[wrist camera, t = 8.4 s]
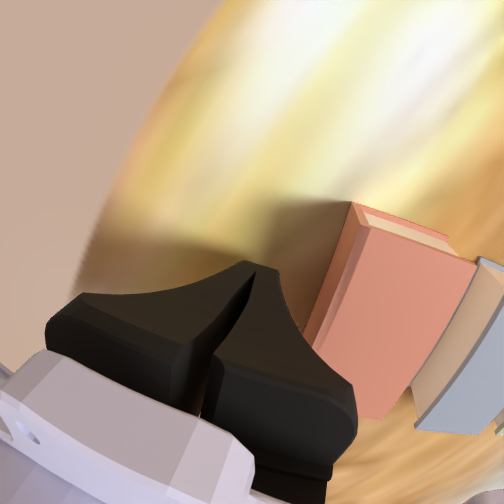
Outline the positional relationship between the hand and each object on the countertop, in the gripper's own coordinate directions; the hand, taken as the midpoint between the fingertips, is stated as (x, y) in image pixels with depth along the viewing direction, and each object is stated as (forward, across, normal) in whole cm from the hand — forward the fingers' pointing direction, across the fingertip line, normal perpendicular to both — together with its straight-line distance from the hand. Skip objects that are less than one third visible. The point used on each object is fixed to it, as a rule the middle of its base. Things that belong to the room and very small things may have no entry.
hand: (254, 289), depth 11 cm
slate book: (+1, -10, 0) cm, 10 cm away
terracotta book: (+1, -4, 0) cm, 5 cm away
